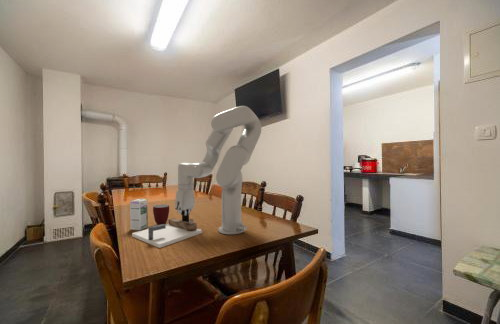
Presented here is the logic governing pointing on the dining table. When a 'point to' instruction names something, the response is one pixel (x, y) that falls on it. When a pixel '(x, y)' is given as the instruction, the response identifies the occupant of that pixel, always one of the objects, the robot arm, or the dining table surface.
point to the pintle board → (166, 235)
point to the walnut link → (183, 224)
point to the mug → (161, 213)
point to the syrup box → (138, 214)
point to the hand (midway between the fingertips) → (185, 222)
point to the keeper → (153, 228)
